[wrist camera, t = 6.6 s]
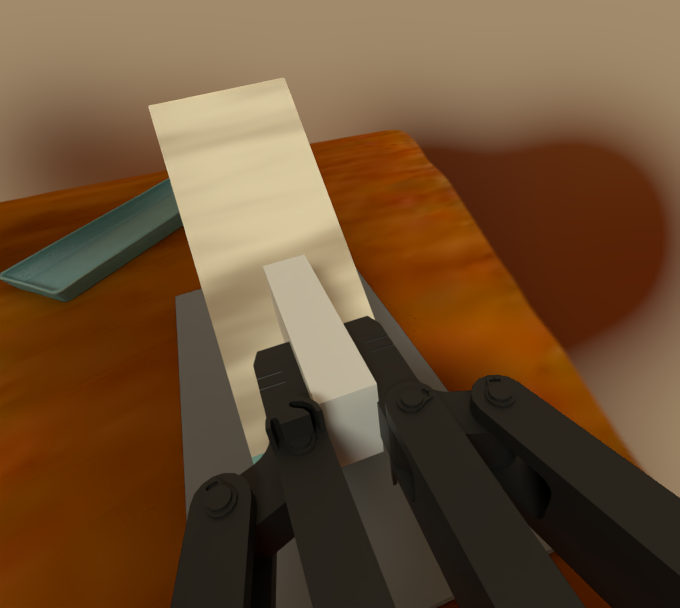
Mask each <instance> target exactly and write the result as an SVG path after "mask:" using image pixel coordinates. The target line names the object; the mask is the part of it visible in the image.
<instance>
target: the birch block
mask: <svg viewBox="0 0 680 608" xmlns="http://www.w3.org/2000/svg"><path fill="white" fill-rule="evenodd" d="M148 107H149V110H150V113H151V117H152V120H153V124H154V127H155V131H156V134H157V137H158V141H159V144H160V147H161V151H162V154H163V158H164V161H165V164H166V168H167V171H168V175H169V178H170V182H171V185H172V188H173V192H174V195H175V199H176V202H177V205H178V209H179V212H180V216H181V219H182V222H183V226H184V229H185V233H186V236H187V239H188V243H189V246H190V250H191V253H192V256H193V260H194V263H195V267H196V270H197V273H198V277H199V280H200V284H201V287H202V290H203V294H204V297H205V301H206V304H207V307H208V311H209V314H210V318H211V321H212V324H213V328H214V331H215V335H216V338H217V341H218V345H219V348H220V352H221V355H222V358H223V362H224V365H225V369H226V372H227V375H228V379H229V382H230V386H231V389H232V392H233V396H234V399H235V403H236V406H237V409H238V413H239V416H240V420H241V423H242V426H243V430H244V433H245V437H246V440H247V443H248V447H249V450H250V454H251V457H252V460H253V464H255V463H256V462H257V461H258V460H259V459H260V458H261V457H262V456H263V454H264V453H265V451H266V449H267V447H268V445H269V439H268V436H267V433H266V431H265V420H266V415H265V411H264V407H263V403H262V399H261V395H260V391H259V387H258V383H257V379H256V375H255V371H254V367H253V364H254V360H255V357H256V353H257V351H261V350H264V349H267V348H270V347H273V346H276V345H280V344H283V343H285V341H284V339H283V336H282V333H281V330H280V328H279V325H278V321H277V317H276V313H275V310H274V306H273V302H272V299H271V295H270V291H269V288H268V284H267V280H266V277H265V273H264V269H263V266H265V265H269V264H272V263H276V262H279V261H283V260H286V259H290V258H294V257H297V256H301V255H305V256H306V258H307V260H308V262H309V264H310V265H311V267H312V269H313V271H314V272H315V274H316V276H317V278H318V280H319V281H320V283H321V285H322V287H323V289H324V290H325V292H326V294H327V296H328V297H329V299H330V301H331V303H332V305H333V306H334V308H335V310H336V312H337V314H338V315H339V317H340V319H341V321H342V322H343V323H346V322H349V321H352V320H355V319H358V318H362V317H365V316H369V317H370V318H372V319H374V320H375V318H374V316H373V313H372V310H371V308H370V305H369V302H368V300H367V297H366V294H365V292H364V289H363V286H362V284H361V281H360V278H359V276H358V273H357V270H356V268H355V265H354V262H353V260H352V257H351V254H350V252H349V249H348V246H347V243H346V241H345V238H344V235H343V233H342V230H341V227H340V225H339V222H338V219H337V217H336V214H335V211H334V209H333V206H332V203H331V201H330V198H329V195H328V193H327V190H326V187H325V185H324V182H323V179H322V177H321V174H320V171H319V169H318V166H317V163H316V161H315V158H314V155H313V153H312V150H311V147H310V145H309V142H308V140H307V137H306V135H305V132H304V129H303V126H302V124H301V121H300V118H299V115H298V113H297V110H296V108H295V105H294V102H293V100H292V97H291V94H290V92H289V89H288V86H287V84H286V81H285V78H279V79H274V80H270V81H265V82H260V83H255V84H251V85H246V86H241V87H237V88H232V89H227V90H222V91H217V92H212V93H208V94H203V95H198V96H193V97H189V98H184V99H179V100H175V101H170V102H165V103H160V104H155V105H150V106H148Z"/></svg>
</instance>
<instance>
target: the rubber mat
mask: <svg viewBox="0 0 680 608" xmlns="http://www.w3.org/2000/svg"><path fill="white" fill-rule="evenodd" d="M355 268H356V267H355ZM356 270H357V269H356ZM357 273H358V276H359V278H360V281H361V284H362V286H363V289H364V292H365V294H366V297H367V300H368V302H369V305H370V308H371V310H372V313H373V316H374V318H375V321H377V322H379V323H380V324H381V325H382V327H383V328H384V330H385V331H386V333H387V334H388V337H390V339H391V340H392V342H393V343H394V346H396V348H397V349H398V351H399V352H400V354H401V355H402V357H403V358H404V360H405V361H406V363H407V364H408V365H409V367H410V368H411V370H412V371H413V373H414V374H415V376H416V377H417V378H418V380H419V381H420V382H422V383H424V384H426V385H428V386H430V387H431V388H432V389H434V390H438V391H444V392H449V391H448V390H447V389H446V387H445V386H444V385H443V383H442V382H441V381H440V379H439V378H438V377H437V375H436V374H435V373H434V371H433V370H432V369H431V367H430V366H429V365H428V363H427V362H426V361H425V359H424V358H423V357H422V355H421V354H420V353H419V351H418V350H417V349H416V347H415V346H414V345H413V343H412V342H411V341H410V339H409V338H408V337H407V335H406V334H405V333H404V331H403V330H402V329H401V327H400V326H399V325H398V323H397V322H396V321H395V319H394V318H393V317H392V315H391V314H390V313H389V311H388V310H387V309H386V307H385V306H384V305H383V303H382V302H381V301H380V299H379V298H378V297H377V295H376V294H375V293H374V291H373V290H372V289H371V287H370V286H369V285H368V283H367V282H366V281H365V279H364V278H363V277H362V275H361V274H360V273H359V271H358V270H357ZM175 300H176V320H177V339H178V359H179V378H180V398H181V418H182V437H183V457H184V477H185V496H186V516H187V518H188V513H189V507H190V504H191V501H192V499H193V496H194V494H195V493H196V491H197V490H198V489H199V487H200V486H201V485H202V484H203V483H204V482H206V481H207V480H209V479H210V478H211V477H213V476H216V475H219V474H222V473H236V474H238V475H240V474H241V473H243V472H244V471H245V470H247V469H248V468H250V467H251V466H252V465H254V464H253V460H252V457H251V454H250V450H249V447H248V443H247V440H246V437H245V433H244V430H243V426H242V423H241V420H240V416H239V413H238V409H237V406H236V403H235V399H234V396H233V392H232V389H231V386H230V382H229V379H228V375H227V372H226V369H225V365H224V362H223V358H222V355H221V352H220V348H219V345H218V341H217V338H216V335H215V331H214V328H213V324H212V321H211V318H210V314H209V311H208V307H207V304H206V301H205V297H204V294H203V290H202V289H199V290H196V291H192V292H189V293H185V294H182V295H179V296H175ZM383 450H384V452H381V453H378V454H376V455H373V456H370V457H368V458H365V459H363V460H360V461H357V462H355V463H352V464H350V465H347V466H344V467H342V471H343V474H344V476H345V479H346V481H347V484H348V486H349V489H350V492H351V494H352V497H353V499H354V502H355V504H356V507H357V510H358V512H359V515H360V517H361V520H362V522H363V525H364V528H365V530H366V533H367V535H368V538H369V540H370V543H371V546H372V548H373V551H374V553H375V556H376V558H377V561H378V564H379V566H380V569H381V571H382V574H383V576H384V579H385V582H386V584H387V587H388V589H389V592H390V594H391V597H392V600H393V602H394V605H395V607H396V608H437V607H439V606H441V605H443V604H445V603H447V602H449V601H452V600H454V599H455V598H454V596H453V594H452V592H451V590H450V588H449V586H448V584H447V581H446V579H445V577H444V575H443V573H442V571H441V569H440V567H439V565H438V563H437V561H436V559H435V557H434V555H433V553H432V551H431V549H430V547H429V545H428V542H427V540H426V538H425V536H424V534H423V532H422V530H421V528H420V526H419V524H418V522H417V520H416V518H415V516H414V514H413V512H412V510H411V508H410V506H409V503H408V501H407V499H406V497H405V495H404V493H403V491H402V489H401V487H400V485H399V483H398V481H397V484H396V485H394V486H393V482H392V477H391V466H390V455H389V453H388V451H387V449H386V447H385V445H384V443H383ZM531 530H532V529H531ZM532 531H533V530H532ZM533 533H534V534H535V536H536V537H537V539H538V540H539V541H540V543H541V544H542V546H543V547H544V549H545V550H546V551H547V553H548V554H550V553H552V552H554V550H553V549H552V548H551V547H550V546H549V545H548V544H547V543H546V542H545V541H544V540H543V539H542V538H541V537H540V536H538V535H537V534H536V533H535V532H534V531H533ZM276 608H313V607H312V603H311V599H310V595H309V591H308V587H307V583H306V579H305V575H304V571H303V567H302V563H301V559H300V555H299V552H298V548H297V544H296V540H295V537H294V538H293V539H292V540H291V541H290V542H289V543H287V544H286V545H285V546H284V547H283V548H281V549H280V550H279V551H278V552H277V578H276Z"/></svg>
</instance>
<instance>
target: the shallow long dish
mask: <svg viewBox="0 0 680 608" xmlns="http://www.w3.org/2000/svg"><path fill="white" fill-rule="evenodd" d="M181 226H183V222H182V219H181V216H180V212H179V209H178V205H177V202H176V199H175V195H174V192H173V188H172V185H171V182H170V178H168V179H166V180H164V181H163V182H161V183H159V184H157V185H156V186H154V187H152V188H150V189H149V190H147V191H145V192H143V193H142V194H140V195H138V196H136V197H135V198H133V199H131V200H129V201H128V202H126V203H124V204H122V205H120V206H119V207H117V208H115V209H113V210H112V211H110V212H108V213H106V214H104V215H103V216H101V217H99V218H97V219H95V220H93V221H92V222H90V223H88V224H86V225H85V226H83V227H81V228H79V229H77V230H76V231H74V232H72V233H70V234H68V235H67V236H65V237H63V238H61V239H60V240H58V241H56V242H54V243H52V244H51V245H49V246H47V247H45V248H44V249H42V250H40V251H38V252H37V253H35V254H33V255H31V256H29V257H28V258H26V259H24V260H23V261H21V262H19V263H17V264H16V265H14V266H12V267H10V268H9V269H7V270H5V271H3V272H2V273H0V280H2V281H4V282H6V283H8V284H10V285H12V286H14V287H17V288H19V289H22V290H26V291H30V292H33V293H36V294H40V295H43V296H47V297H50V298H53V299H56V300H60V301H63V302H68V301H70V300H72V299H74V298H75V297H77V296H78V295H80V294H81V293H83V292H84V291H86V290H87V289H89V288H90V287H92V286H93V285H95V284H96V283H98V282H99V281H101V280H102V279H104V278H105V277H107V276H108V275H110V274H111V273H113V272H114V271H116V270H117V269H119V268H120V267H122V266H123V265H125V264H126V263H128V262H129V261H131V260H132V259H134V258H135V257H137V256H138V255H140V254H141V253H143V252H144V251H146V250H147V249H149V248H150V247H152V246H153V245H154V244H156V243H157V242H159V241H160V240H162V239H163V238H165V237H166V236H168V235H169V234H171V233H172V232H174V231H175V230H177V229H178V228H180V227H181Z"/></svg>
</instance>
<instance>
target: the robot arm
mask: <svg viewBox="0 0 680 608" xmlns="http://www.w3.org/2000/svg"><path fill="white" fill-rule="evenodd" d="M263 269H264V273H265V277H266V280H267V284H268V288H269V291H270V295H271V299H272V302H273V306H274V310H275V313H276V317H277V321H278V325H279V328H280V330H281V333H282V336H283V339H284V341H285V343H283V344H280V345H276V346H273V347H270V348H267V349H264V350H261V351H257V353H256V357H255V360H254V364H253V367H254V371H255V375H256V379H257V383H258V387H259V391H260V395H261V399H262V403H263V407H264V411H265V415H266V420H265V431H266V433H267V436H268V439H269V445H268V447H267V449H266V451H265V453H264V454H263V456H262V457H261V458H260V459H259V460H258V461H257V462H256V463H255V464H254V465H252V466H251V467H250V468H248V469H247V470H245V471H244V472H243V473H241V474H240V475H238V474H236V473H222V474H219V475H216V476H213V477H211V478H210V479H209V480H207V481H206V482H204V483H203V484H202V485H201V486H200V487H199V489H198V490H197V491H196V493H195V494H194V496H193V499H192V501H191V504H190V507H189V513H188V518H187V523H186V528H185V534H184V539H183V544H182V549H181V555H180V560H179V565H178V571H177V576H176V581H175V586H174V592H173V597H172V602H171V607H170V608H276V578H277V552H278V551H279V550H280V549H281V548H283V547H284V546H285V545H286V544H287V543H289V542H290V541H291V540H292V539H293V538H294V537H295V540H296V544H297V548H298V552H299V555H300V559H301V563H302V567H303V571H304V575H305V579H306V583H307V587H308V591H309V595H310V599H311V603H312V607H313V608H396V607H395V605H394V602H393V600H392V597H391V594H390V592H389V589H388V587H387V584H386V582H385V579H384V576H383V574H382V571H381V569H380V566H379V564H378V561H377V558H376V556H375V553H374V551H373V548H372V546H371V543H370V540H369V538H368V535H367V533H366V530H365V528H364V525H363V522H362V520H361V517H360V515H359V512H358V510H357V507H356V504H355V502H354V499H353V497H352V494H351V492H350V489H349V486H348V484H347V481H346V479H345V476H344V474H343V471H342V467H344V466H347V465H350V464H352V463H355V462H357V461H360V460H363V459H365V458H368V457H370V456H373V455H376V454H378V453H381V452H384V450H383V443H384V445H385V447H386V449H387V451H388V453H389V455H390V466H391V477H392V482H393V486H394V485H396V484H397V481H398V483H399V485H400V487H401V489H402V491H403V493H404V495H405V497H406V499H407V501H408V503H409V506H410V508H411V510H412V512H413V514H414V516H415V518H416V520H417V522H418V524H419V526H420V528H421V530H422V532H423V534H424V536H425V538H426V540H427V542H428V545H429V547H430V549H431V551H432V553H433V555H434V557H435V559H436V561H437V563H438V565H439V567H440V569H441V571H442V573H443V575H444V577H445V579H446V581H447V584H448V586H449V588H450V590H451V592H452V594H453V596H454V598H455V600H456V602H457V604H458V606H459V608H585V606H584V605H583V603H582V602H581V600H580V599H579V598H578V596H577V595H576V593H575V592H574V590H573V589H572V588H571V586H570V585H569V583H568V582H567V580H566V579H565V577H564V576H563V575H562V573H561V572H560V570H559V569H558V567H557V566H556V564H555V563H554V562H553V560H552V559H551V557H550V556H549V554H548V553H547V551H546V550H545V549H544V547H543V546H542V544H541V543H540V541H539V540H538V539H537V537H536V536H535V534H534V533H533V531H534V532H535V533H536V534H537V535H538V536H540V537H541V538H542V539H543V540H544V541H545V542H546V543H547V544H548V545H549V546H550V547H551V548H552V549H553V550H554V551H555V552H556V553H557V554H558V555H559V556H560V557H561V558H562V559H563V560H564V561H565V562H566V563H567V564H568V565H569V566H570V567H571V568H572V569H573V570H574V571H575V572H576V573H577V574H578V575H579V576H580V577H581V578H582V579H583V580H584V581H585V582H586V583H587V584H588V585H589V586H590V587H591V588H592V589H593V590H594V591H595V592H596V593H597V594H598V595H599V596H600V597H602V598H603V599H604V600H605V601H606V602H607V603H608V604H609V605H610V606H611V607H612V608H680V498H679V497H677V496H676V495H675V494H673V493H672V492H670V491H669V490H668V489H666V488H665V487H664V486H662V485H661V484H659V483H658V482H657V481H655V480H654V479H652V478H651V477H650V476H648V475H647V474H646V473H644V472H643V471H641V470H640V469H639V468H637V467H636V466H634V465H633V464H632V463H630V462H629V461H627V460H626V459H625V458H623V457H622V456H621V455H619V454H618V453H616V452H615V451H614V450H612V449H611V448H609V447H608V446H607V445H605V444H604V443H602V442H601V441H600V440H598V439H597V438H595V437H594V436H593V435H591V434H590V433H589V432H587V431H586V430H584V429H583V428H582V427H580V426H579V425H577V424H576V423H575V422H573V421H572V420H570V419H569V418H568V417H566V416H565V415H563V414H562V413H561V412H559V411H558V410H557V409H555V408H554V407H552V406H551V405H550V404H548V403H547V402H545V401H544V400H543V399H541V398H540V397H538V396H537V395H536V394H534V393H533V392H531V391H530V390H529V389H527V388H526V387H525V386H523V385H522V384H520V383H519V382H517V381H515V380H513V379H511V378H510V377H506V376H501V375H487V376H485V377H482V378H480V379H478V380H477V381H476V382H475V383H474V384H473V387H472V390H470V391H454V392H444V391H438V390H434V389H432V388H431V387H430V386H428V385H426V384H424V383H422V382H420V381H419V380H418V378H417V377H416V376H415V374H414V373H413V371H412V370H411V368H410V367H409V365H408V364H407V363H406V361H405V360H404V358H403V357H402V355H401V354H400V352H399V351H398V349H397V348H396V346H394V343H393V342H392V340H391V339H390V337H388V334H387V333H386V331H385V330H384V328H383V327H382V325H381V324H380V323H379V322H377V321H375V320H374V319H372V318H370V317H369V316H365V317H362V318H358V319H355V320H352V321H349V322H346V323H343V322H342V321H341V319H340V317H339V315H338V314H337V312H336V310H335V308H334V306H333V305H332V303H331V301H330V299H329V297H328V296H327V294H326V292H325V290H324V289H323V287H322V285H321V283H320V281H319V280H318V278H317V276H316V274H315V272H314V271H313V269H312V267H311V265H310V264H309V262H308V260H307V258H306V256H305V255H301V256H297V257H294V258H290V259H286V260H283V261H279V262H276V263H272V264H269V265H265V266H263ZM531 529H532V530H533V531H532V530H531Z"/></svg>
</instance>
